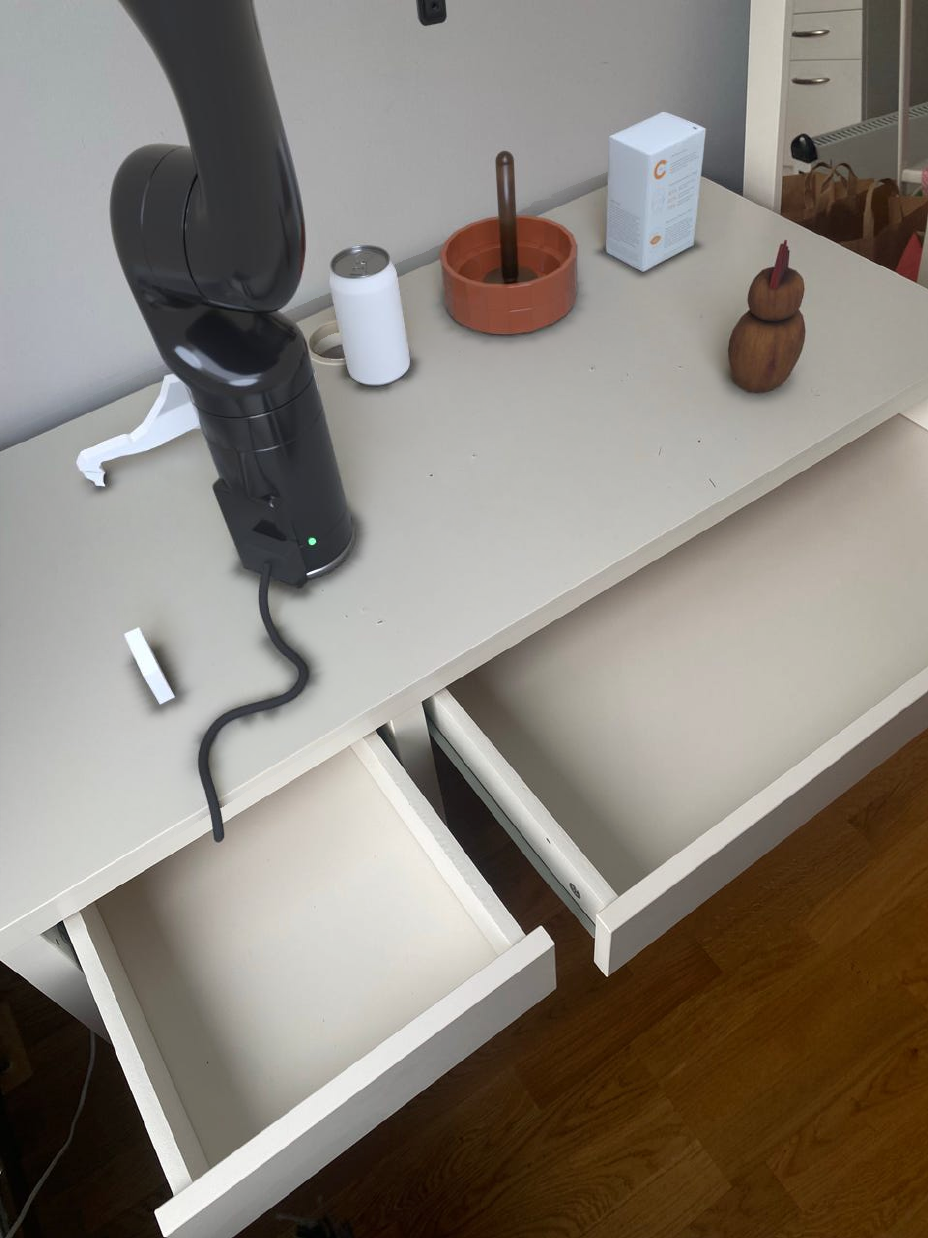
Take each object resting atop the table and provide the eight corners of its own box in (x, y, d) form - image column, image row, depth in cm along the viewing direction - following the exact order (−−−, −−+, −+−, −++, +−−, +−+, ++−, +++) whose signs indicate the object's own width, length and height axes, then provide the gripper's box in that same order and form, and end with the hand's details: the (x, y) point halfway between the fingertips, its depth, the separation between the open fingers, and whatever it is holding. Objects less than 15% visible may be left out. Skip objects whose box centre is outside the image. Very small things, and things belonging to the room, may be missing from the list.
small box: (655, 225, 110) (664, 109, 100) (694, 246, 107) (708, 127, 96) (603, 252, 107) (607, 134, 97) (642, 273, 104) (650, 154, 94)
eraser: (154, 655, 75) (138, 626, 72) (175, 697, 72) (159, 669, 69) (140, 662, 75) (123, 634, 72) (160, 704, 72) (143, 677, 69)
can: (414, 349, 98) (398, 241, 89) (406, 387, 94) (388, 278, 85) (354, 350, 99) (332, 243, 90) (343, 388, 95) (319, 280, 86)
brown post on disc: (523, 315, 100) (518, 170, 88) (473, 304, 102) (461, 160, 90) (548, 286, 103) (546, 142, 91) (499, 275, 105) (491, 133, 93)
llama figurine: (256, 464, 98) (75, 478, 88) (269, 364, 91) (75, 368, 81) (263, 473, 97) (80, 489, 87) (277, 373, 90) (81, 378, 80)
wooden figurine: (761, 410, 88) (791, 261, 76) (712, 384, 91) (734, 237, 79) (806, 377, 90) (841, 228, 79) (757, 353, 93) (784, 206, 82)
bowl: (541, 351, 96) (539, 298, 92) (422, 321, 101) (415, 270, 97) (597, 279, 104) (598, 228, 99) (483, 255, 109) (480, 205, 104)
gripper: (321, -265, 69) (358, -12, 82) (361, -235, 60) (395, 44, 73) (419, -281, 70) (440, -28, 83) (473, -253, 61) (488, 25, 74)
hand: (419, 5), depth 78 cm, fingers open, 8 cm apart
